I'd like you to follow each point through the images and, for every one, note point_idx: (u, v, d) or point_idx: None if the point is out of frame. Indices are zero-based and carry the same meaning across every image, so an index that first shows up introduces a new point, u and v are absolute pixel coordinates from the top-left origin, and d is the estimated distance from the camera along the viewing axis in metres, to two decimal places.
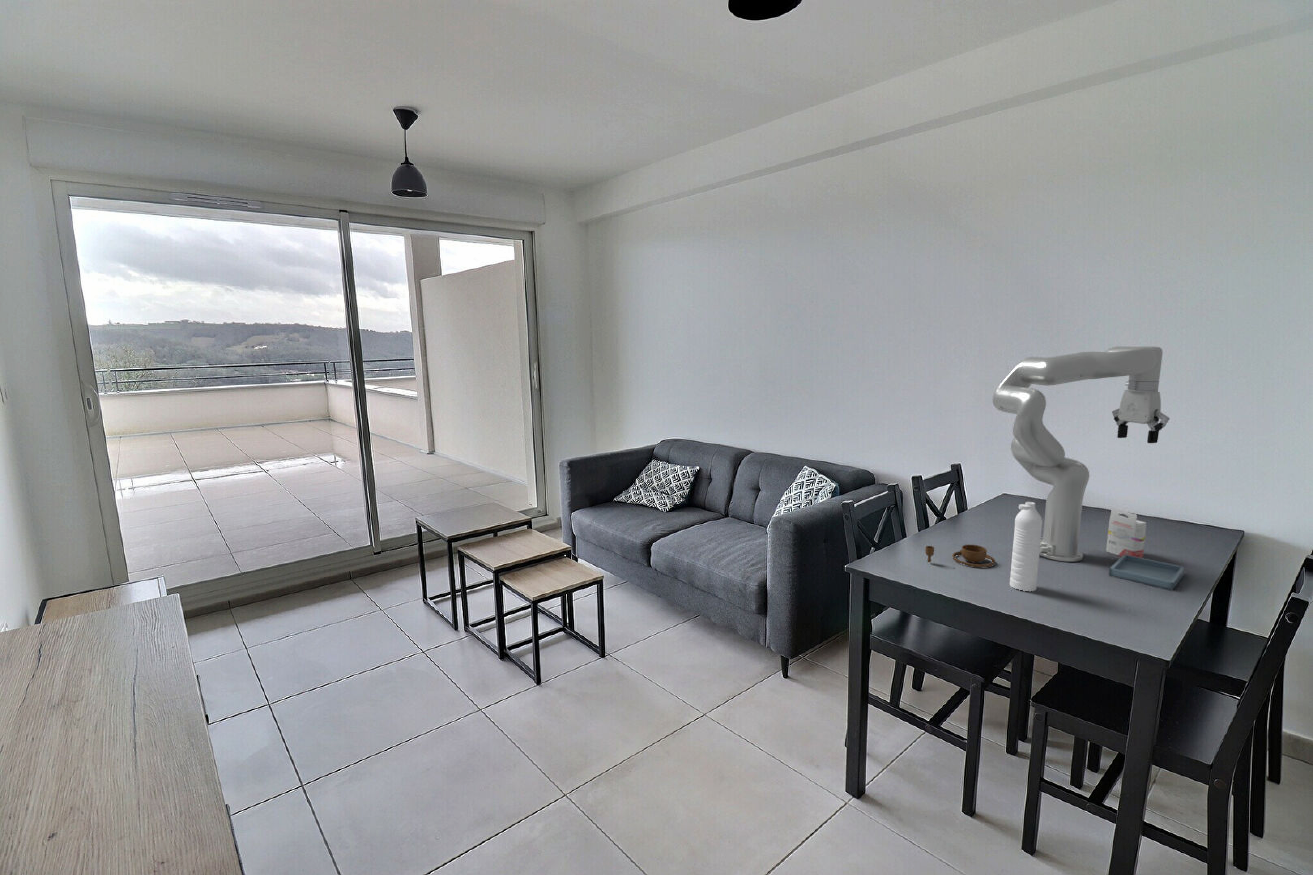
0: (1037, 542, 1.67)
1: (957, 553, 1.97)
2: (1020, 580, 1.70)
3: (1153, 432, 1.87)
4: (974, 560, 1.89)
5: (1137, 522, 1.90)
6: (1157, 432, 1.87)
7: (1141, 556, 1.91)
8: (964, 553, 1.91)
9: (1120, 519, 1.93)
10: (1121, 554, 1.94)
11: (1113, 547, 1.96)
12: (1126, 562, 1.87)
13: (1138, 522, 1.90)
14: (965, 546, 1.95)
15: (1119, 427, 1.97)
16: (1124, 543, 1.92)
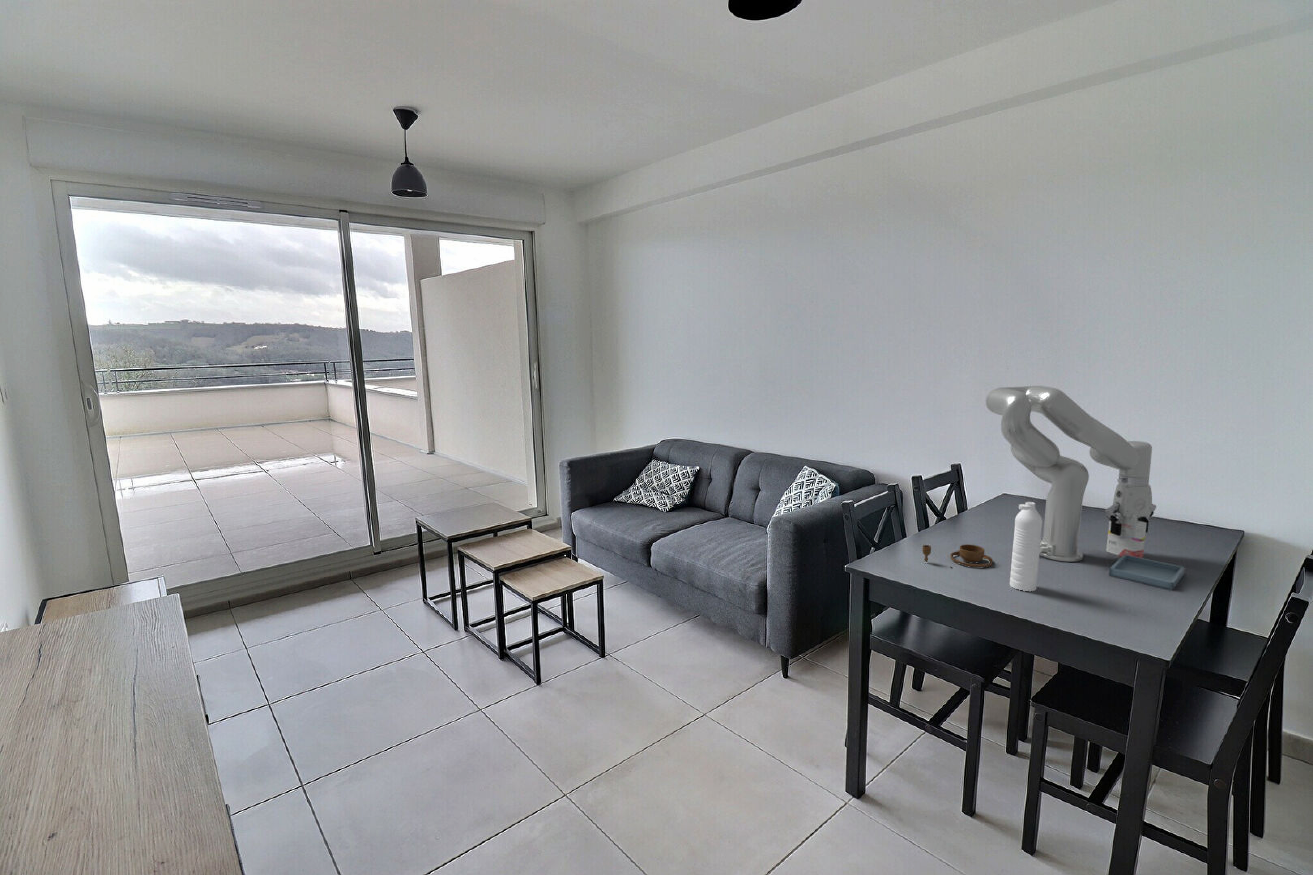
0: (1037, 542, 1.67)
1: (955, 553, 1.97)
2: (1020, 580, 1.70)
3: None
4: (971, 560, 1.89)
5: (1137, 522, 1.90)
6: None
7: (1141, 556, 1.91)
8: (962, 553, 1.91)
9: None
10: (1121, 554, 1.94)
11: (1113, 547, 1.96)
12: (1126, 562, 1.87)
13: (1138, 522, 1.90)
14: (963, 546, 1.95)
15: (1120, 525, 1.91)
16: (1124, 543, 1.92)
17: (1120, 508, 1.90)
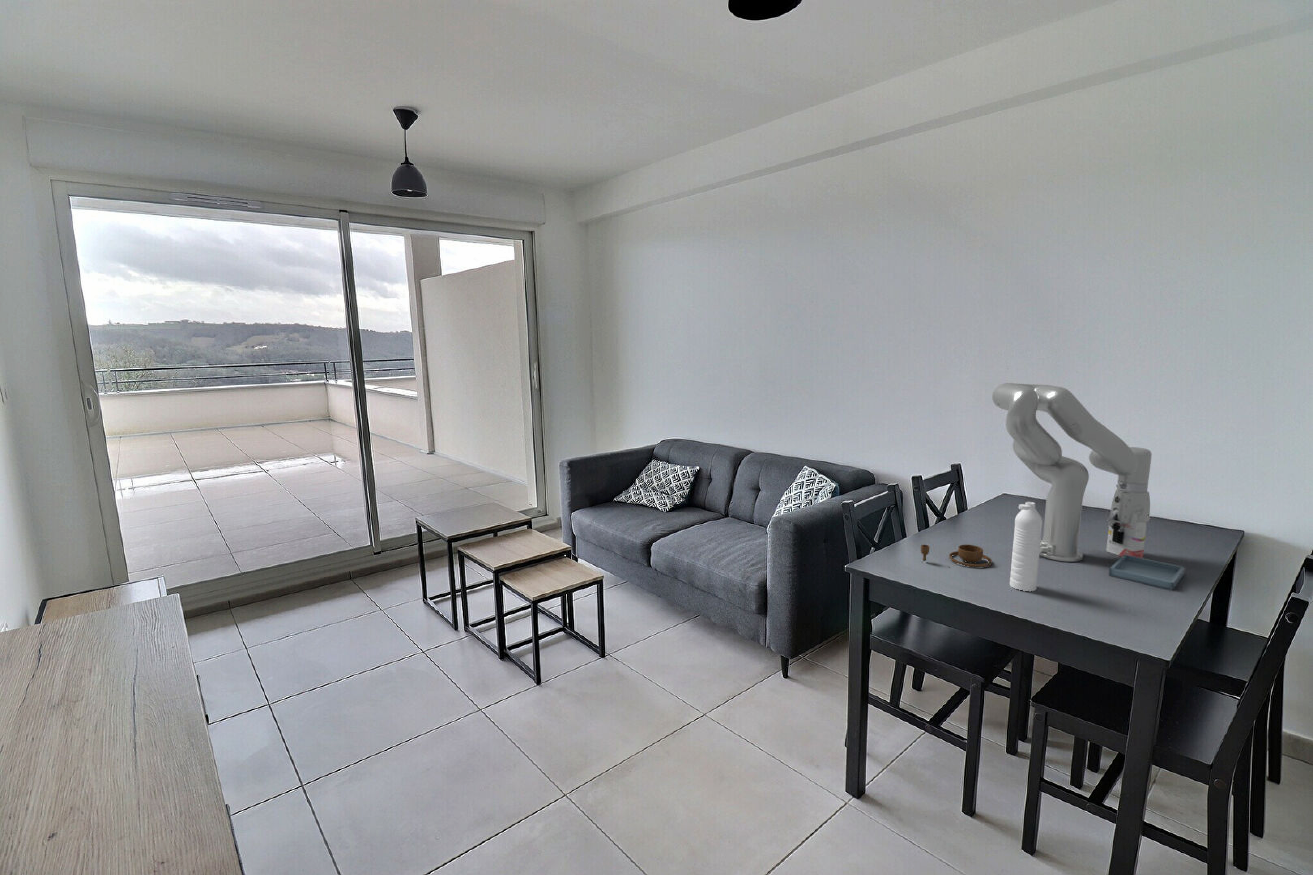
0: (1037, 542, 1.67)
1: (954, 553, 1.97)
2: (1020, 580, 1.70)
3: None
4: (970, 560, 1.90)
5: (1137, 522, 1.90)
6: None
7: (1141, 556, 1.91)
8: (960, 553, 1.92)
9: None
10: (1121, 554, 1.94)
11: (1113, 547, 1.96)
12: (1126, 562, 1.87)
13: (1138, 522, 1.90)
14: (962, 546, 1.95)
15: (1123, 533, 1.92)
16: (1124, 543, 1.93)
17: (1118, 514, 1.91)
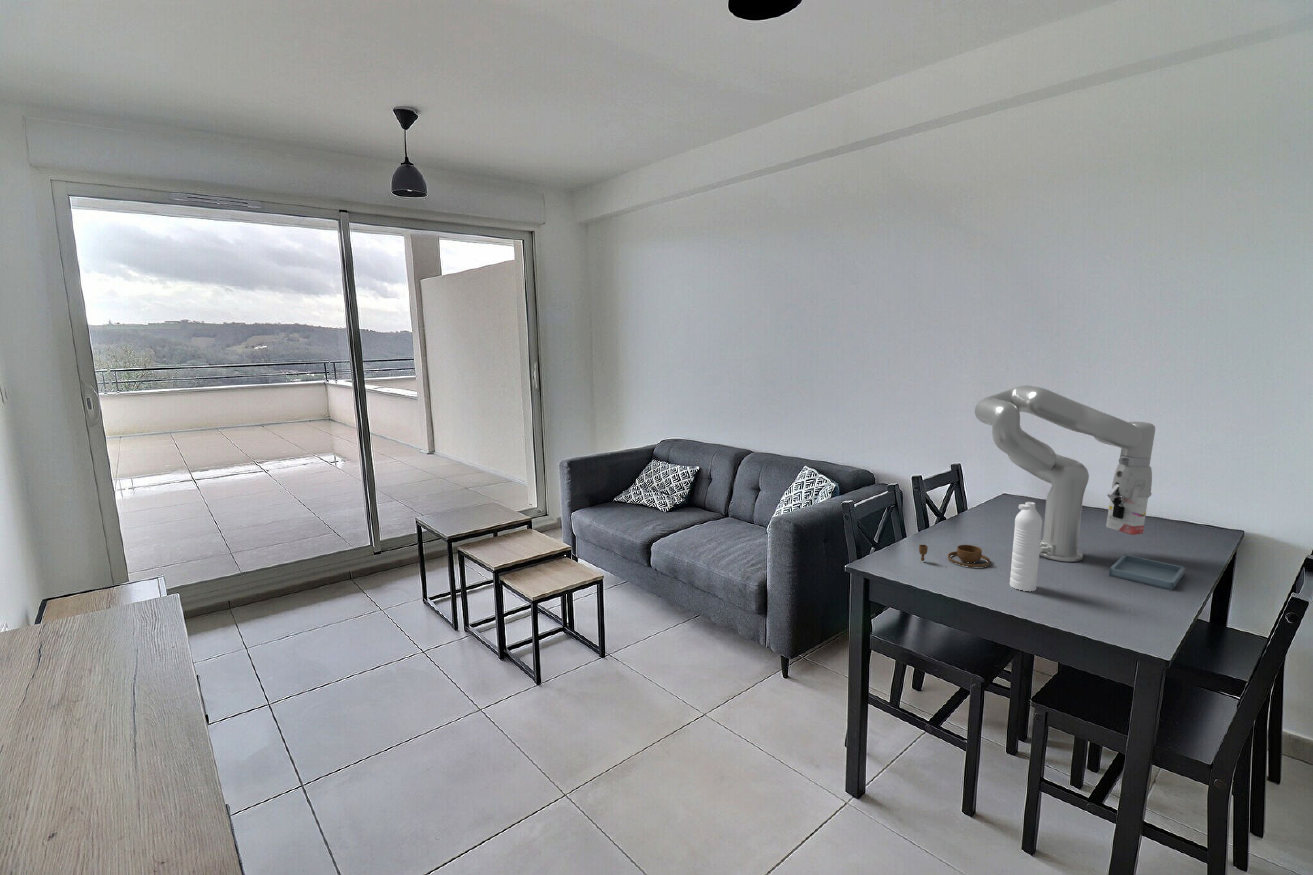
0: (1037, 542, 1.67)
1: (953, 553, 1.98)
2: (1020, 580, 1.70)
3: None
4: (968, 560, 1.90)
5: (1138, 497, 1.89)
6: None
7: (1141, 531, 1.90)
8: (959, 553, 1.92)
9: None
10: (1121, 529, 1.92)
11: (1113, 523, 1.95)
12: (1126, 562, 1.87)
13: (1139, 497, 1.89)
14: (961, 546, 1.95)
15: (1123, 508, 1.90)
16: (1124, 518, 1.91)
17: (1119, 488, 1.89)
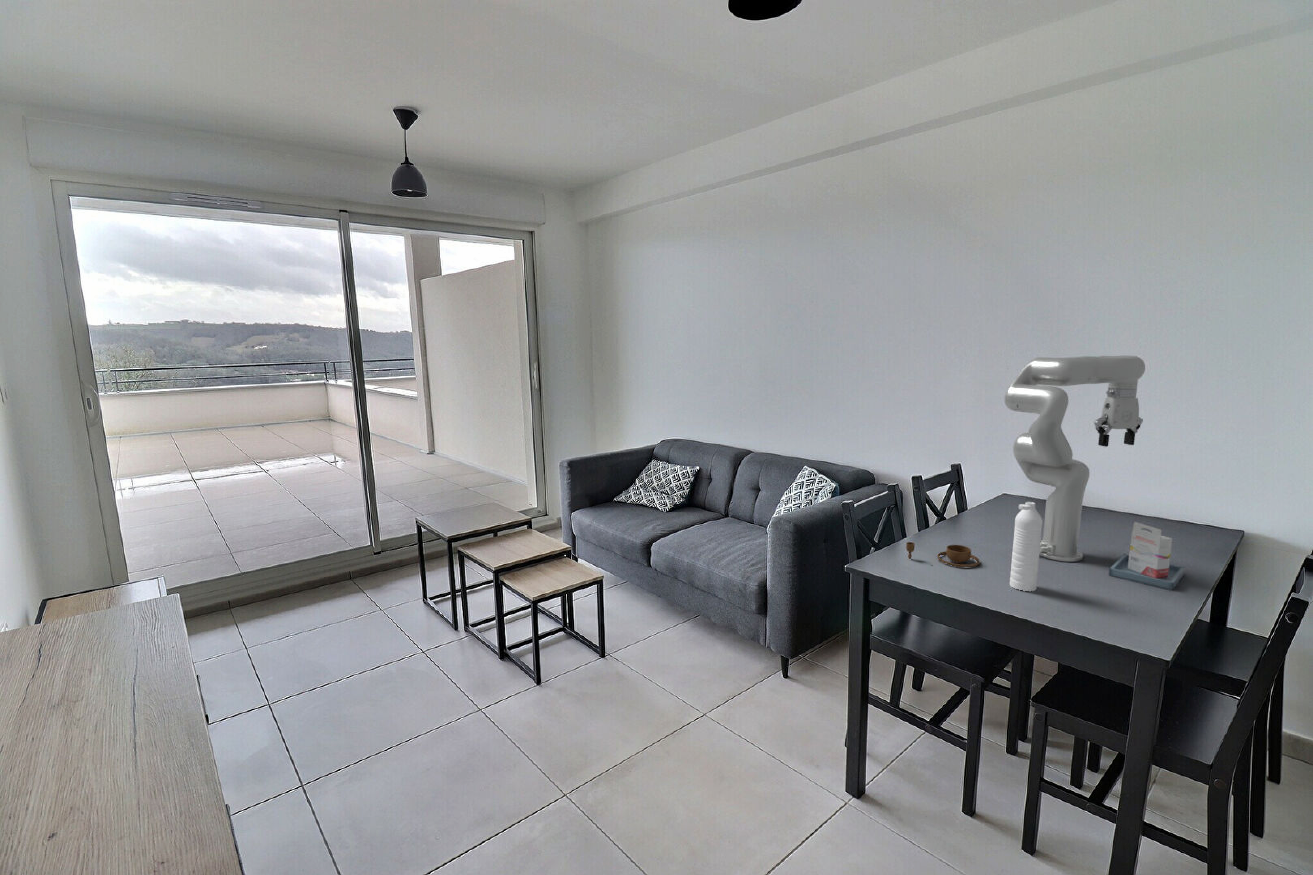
0: (1037, 542, 1.67)
1: (945, 552, 1.98)
2: (1020, 580, 1.70)
3: None
4: (956, 560, 1.90)
5: (1162, 538, 1.75)
6: None
7: (1166, 575, 1.76)
8: (947, 552, 1.92)
9: (1143, 534, 1.78)
10: (1144, 572, 1.78)
11: (1135, 564, 1.80)
12: (1126, 562, 1.87)
13: (1163, 538, 1.75)
14: (952, 546, 1.95)
15: (1108, 436, 1.99)
16: (1147, 560, 1.77)
17: (1108, 419, 1.98)
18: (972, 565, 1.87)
